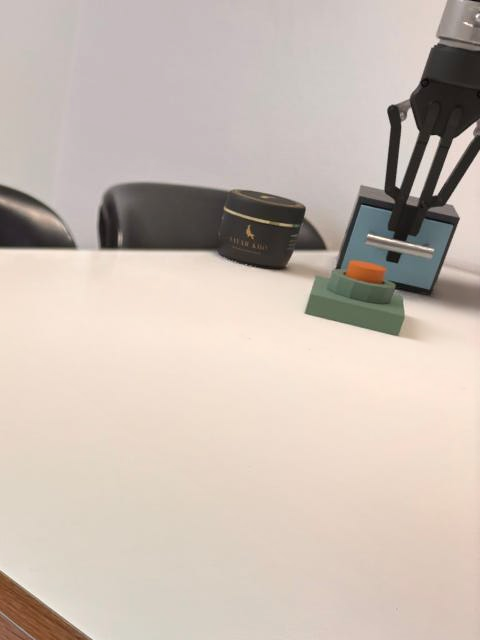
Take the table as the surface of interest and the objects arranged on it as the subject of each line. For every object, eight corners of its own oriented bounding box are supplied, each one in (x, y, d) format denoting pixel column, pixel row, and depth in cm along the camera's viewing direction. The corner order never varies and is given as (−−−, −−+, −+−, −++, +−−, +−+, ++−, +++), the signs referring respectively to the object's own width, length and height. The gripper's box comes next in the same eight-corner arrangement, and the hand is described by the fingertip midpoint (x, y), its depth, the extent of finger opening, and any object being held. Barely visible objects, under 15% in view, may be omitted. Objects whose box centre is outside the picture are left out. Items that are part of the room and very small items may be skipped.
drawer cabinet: (431, 295, 138) (460, 218, 133) (334, 272, 140) (359, 195, 135) (426, 277, 150) (453, 205, 145) (337, 256, 152) (360, 184, 147)
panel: (397, 336, 113) (411, 298, 111) (304, 314, 115) (316, 276, 113) (395, 314, 123) (408, 279, 121) (310, 294, 125) (321, 259, 123)
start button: (381, 289, 115) (386, 272, 114) (344, 280, 116) (349, 263, 115) (380, 282, 118) (386, 266, 118) (345, 274, 119) (350, 258, 118)
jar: (204, 255, 134) (221, 191, 131) (221, 246, 143) (237, 185, 139) (282, 275, 132) (301, 210, 128) (294, 264, 140) (312, 203, 136)
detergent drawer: (431, 298, 131) (456, 232, 127) (339, 276, 133) (360, 211, 129) (425, 272, 147) (447, 213, 143) (343, 253, 149) (362, 194, 145)
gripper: (409, 35, 119) (339, 252, 131) (529, 59, 117) (446, 278, 129) (408, 37, 126) (340, 244, 138) (521, 60, 123) (442, 268, 135)
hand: (391, 260), depth 133 cm, fingers closed
